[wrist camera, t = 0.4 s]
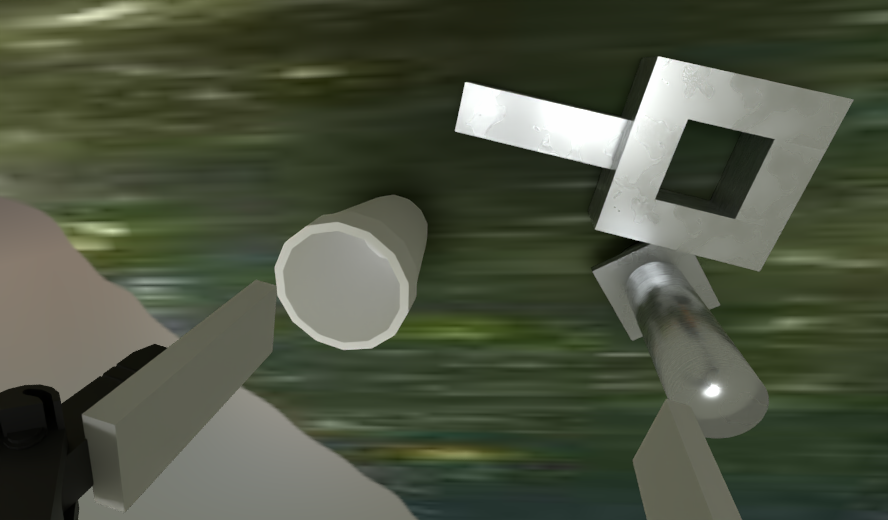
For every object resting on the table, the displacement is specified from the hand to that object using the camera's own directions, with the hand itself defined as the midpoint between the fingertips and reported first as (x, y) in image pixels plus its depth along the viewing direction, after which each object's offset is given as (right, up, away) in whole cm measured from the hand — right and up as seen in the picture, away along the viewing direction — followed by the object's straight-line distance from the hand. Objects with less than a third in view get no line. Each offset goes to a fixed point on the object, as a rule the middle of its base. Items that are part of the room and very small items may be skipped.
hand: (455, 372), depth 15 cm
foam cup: (-5, +7, +27) cm, 29 cm away
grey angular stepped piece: (+12, +9, +23) cm, 27 cm away
